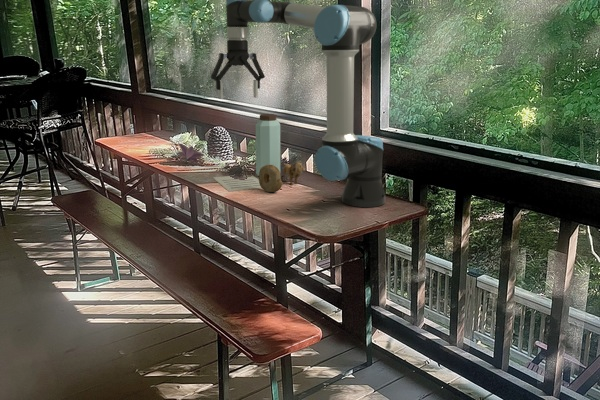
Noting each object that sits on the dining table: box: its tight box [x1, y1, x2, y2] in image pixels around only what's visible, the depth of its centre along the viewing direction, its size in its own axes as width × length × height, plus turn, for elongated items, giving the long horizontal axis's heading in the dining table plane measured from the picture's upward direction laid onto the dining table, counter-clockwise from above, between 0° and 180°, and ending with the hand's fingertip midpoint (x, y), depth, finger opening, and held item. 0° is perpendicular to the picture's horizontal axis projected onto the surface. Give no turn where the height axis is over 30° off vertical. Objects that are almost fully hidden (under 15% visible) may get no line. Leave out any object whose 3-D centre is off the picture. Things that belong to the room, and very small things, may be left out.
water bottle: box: [255, 113, 281, 177], centre depth 232 cm, size 10×10×25 cm
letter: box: [212, 174, 262, 192], centre depth 225 cm, size 22×16×1 cm
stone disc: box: [258, 165, 283, 193], centre depth 211 cm, size 10×4×10 cm, turn 46°
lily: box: [176, 142, 205, 167], centre depth 253 cm, size 12×12×10 cm
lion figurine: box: [280, 162, 306, 186], centre depth 225 cm, size 15×5×9 cm, turn 34°
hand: (238, 98), depth 216 cm, fingers open, 13 cm apart
